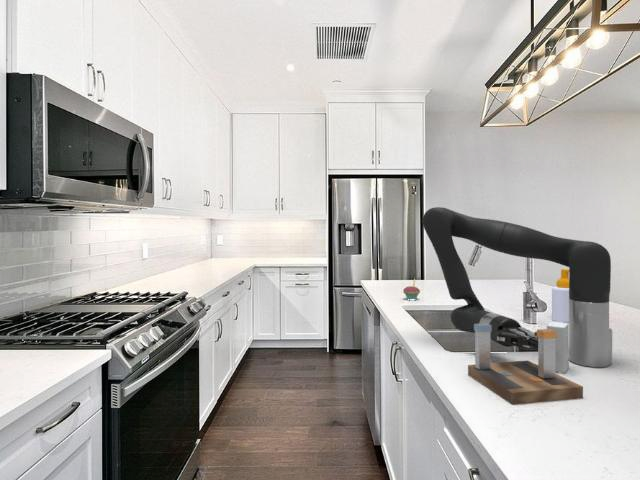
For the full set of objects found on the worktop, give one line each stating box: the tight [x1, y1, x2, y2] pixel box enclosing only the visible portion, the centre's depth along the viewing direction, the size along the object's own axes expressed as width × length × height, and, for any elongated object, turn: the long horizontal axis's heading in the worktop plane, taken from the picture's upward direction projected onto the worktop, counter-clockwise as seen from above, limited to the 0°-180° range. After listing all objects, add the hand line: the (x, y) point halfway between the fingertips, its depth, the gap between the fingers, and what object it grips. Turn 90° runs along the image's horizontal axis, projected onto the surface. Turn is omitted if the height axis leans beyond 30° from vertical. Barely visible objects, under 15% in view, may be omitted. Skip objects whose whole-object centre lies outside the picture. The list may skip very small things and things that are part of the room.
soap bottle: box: [551, 268, 569, 324], centre depth 162 cm, size 13×8×20 cm, turn 129°
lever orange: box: [536, 328, 557, 378], centre depth 94 cm, size 3×2×11 cm, turn 99°
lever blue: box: [474, 323, 492, 370], centre depth 101 cm, size 3×2×11 cm, turn 99°
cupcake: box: [402, 278, 421, 300], centre depth 213 cm, size 9×8×12 cm
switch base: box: [467, 360, 584, 405], centre depth 96 cm, size 17×18×3 cm
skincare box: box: [546, 320, 570, 374], centre depth 107 cm, size 6×4×12 cm
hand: (543, 346), depth 95 cm, fingers closed
